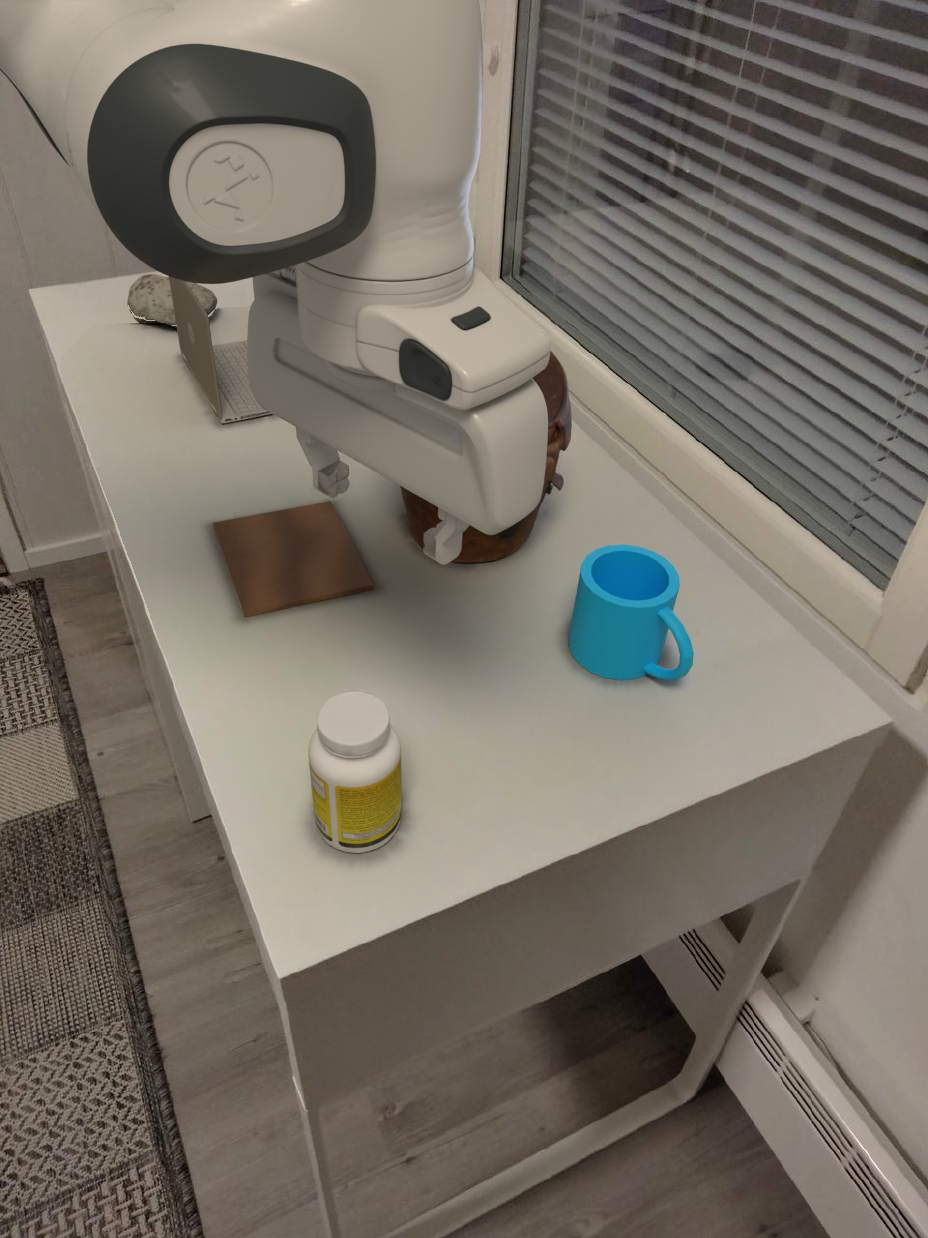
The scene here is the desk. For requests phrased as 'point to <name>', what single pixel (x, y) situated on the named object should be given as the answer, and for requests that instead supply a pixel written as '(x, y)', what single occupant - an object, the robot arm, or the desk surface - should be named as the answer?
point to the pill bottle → (355, 773)
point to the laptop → (213, 359)
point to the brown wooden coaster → (290, 558)
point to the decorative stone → (162, 299)
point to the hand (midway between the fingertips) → (384, 521)
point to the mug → (627, 614)
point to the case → (559, 436)
